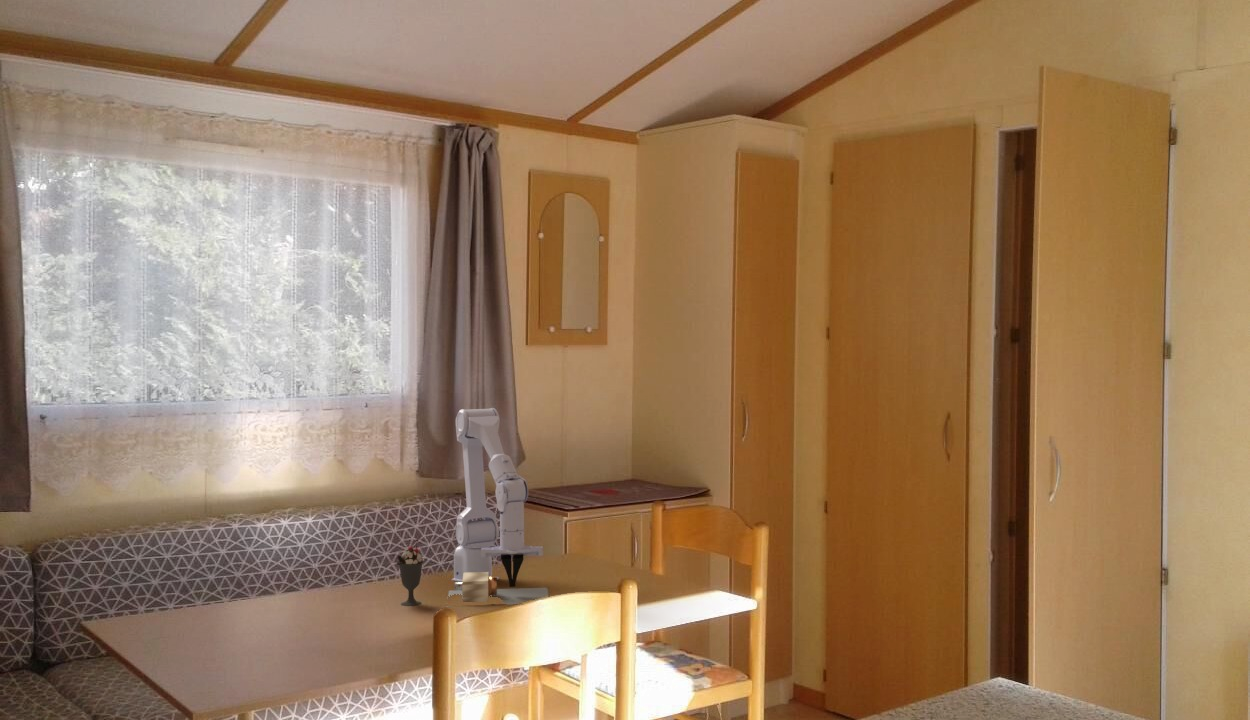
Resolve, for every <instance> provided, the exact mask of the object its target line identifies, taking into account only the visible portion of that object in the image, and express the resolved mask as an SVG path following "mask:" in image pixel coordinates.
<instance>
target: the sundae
mask: <svg viewBox="0 0 1250 720" xmlns="http://www.w3.org/2000/svg"><path fill="white" fill-rule="evenodd" d="M418 541H419V539H415V541H414V543H413V544H412V545H411V546H408V549H406V550H404V551H403V552H402V554H398V555H397V556H396V558H397V559H398V560H396V563H395V564H396V565H397V566H398V567H399V571H400V579H401V583H402V584H401V585H402V586H403V587H404V588H405V589H407V591H408V596H407V600H405V601H403V602H401V603H400V605H401V606H404V607H416V606H420V605H422V602H421V601H419V600H416V599H415V595H414V590H415V589H416V588H417V587H418V586H419V585H420V584H421V583H420V582H421V577H422V576H421V575H422V567H423V563H425V562H426V560H423V556H422V555H421V553H420V550H419V548H418V547H417V544H418ZM414 545H415V548H414V547H413V546H414Z"/></svg>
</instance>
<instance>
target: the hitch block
mask: <svg viewBox="0 0 1250 720" xmlns="http://www.w3.org/2000/svg"><path fill="white" fill-rule="evenodd" d="M488 576H489V572H467V573H463V581H462V600H463V602H488V597H489V595H488Z"/></svg>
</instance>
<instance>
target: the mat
mask: <svg viewBox="0 0 1250 720" xmlns="http://www.w3.org/2000/svg"><path fill="white" fill-rule="evenodd" d="M454 594H456V595H457V594H459V595H460V594H461V595H462V591H455V590H454V589H453V590H448V595H447V597H448V596H449V597H450V595H451V596H452V595H454ZM489 596H490V595H489ZM545 596H549V590H548V587H523V588H521V587H520V588H519V587H518V588H517V587H516V588H497V595H492V597H498V598H500V599H501V600H503V602H504V603H505V604H507V605H506V606H509V605H510V606H511V605H513V604H517V605H519V604H518V603H522V602H526V601H529V600H535V599H538V598H541V597H545ZM490 597H491V596H490ZM445 607H446V608H448V607H450V606H446V605H445Z"/></svg>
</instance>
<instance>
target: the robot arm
mask: <svg viewBox="0 0 1250 720" xmlns="http://www.w3.org/2000/svg"><path fill="white" fill-rule="evenodd" d="M500 421H501V420H500V414H499V412H498V410H497V409H496V408H494V407H491V408H477V409H476V408H473V409H464V408H462V409H459V411H458V412H457V415H456V417H455V432H456V441H457V442H458V443H461V444H462V456H463V469H464V470H463V471H464V484H465V486H464V487H465V497H466V498H465V499H466V500H465V501H466V508H465V509H464V510H463V511H461V512H460V514H458V515H457V517H456V528H455V538H456V541H457V543H458V544H459V545H458V546H457V547H456V548H455V549H454V553H453V578H452V579H451V581H452V582H462V581H463V573H467V572H489V576H493V564H492V563H493V557H500V560H501V561H500V562H501V563H502V565H503V567H504V570H505V572H506V573H505V574H506V576H507V579H508V584H509V586H508V587H510V588H515V587H516V585H517V583H516V582H517V577H518V575H519V572H520V569H521V566H522V565H523V561H524V556H539V557H542V556H543V555H544V554H543V553H544V552H543V546H541V545H538V546H537V545H535V546H533V545H525V503H526V502H527V500H528V498H529V487H528V484H527V480H526V479H525V478H523V477H522V475H519V474H518V471H517V470H516V468H515V465H514V463H513V460H512V458H511V456H510V455H508V454H505V452H504V448H503V445H502V442H501V439H500V435H499V430H500V423H501V422H500ZM483 447H484V449H485V451H486V454H487V455H488V457H489V459H490V461H489V463H488V468H489V471H490V473H491V475H492V478H493V480H494V483H495V499H496V502H497V510H498V512H499V525H498V521H497V515H496V513H495V512H494V511H493V510H491V509H490V508H488V507H487V496H486V485H485V471H484V470H485V469H484V457H483V455H484V453H483ZM475 519H478V520H475ZM497 540H499V542H500V543H499V546H495V543H497ZM498 580H500V577H498V576H497V581H498Z"/></svg>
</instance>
